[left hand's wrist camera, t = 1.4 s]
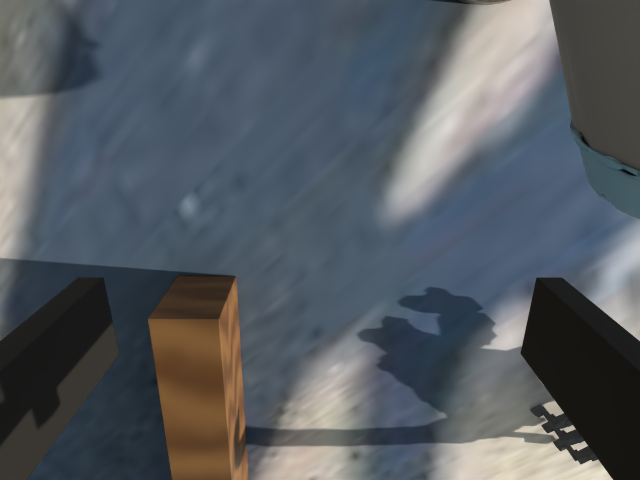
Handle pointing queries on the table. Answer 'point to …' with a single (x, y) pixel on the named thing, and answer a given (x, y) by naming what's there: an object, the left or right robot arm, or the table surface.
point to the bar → (201, 378)
